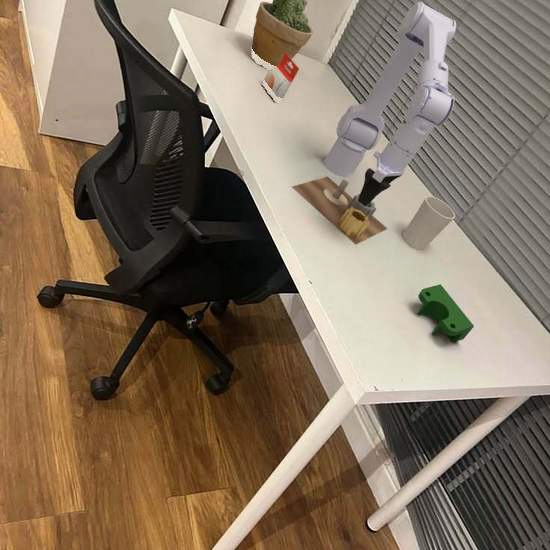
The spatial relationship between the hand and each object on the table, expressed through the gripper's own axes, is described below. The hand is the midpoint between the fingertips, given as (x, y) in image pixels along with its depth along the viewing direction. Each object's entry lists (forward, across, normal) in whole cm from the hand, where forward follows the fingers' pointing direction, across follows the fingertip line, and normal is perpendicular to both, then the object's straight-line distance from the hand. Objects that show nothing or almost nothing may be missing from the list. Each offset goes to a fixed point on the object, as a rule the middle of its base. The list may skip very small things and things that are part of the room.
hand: (367, 198), depth 118 cm
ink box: (+10, -41, -45) cm, 62 cm away
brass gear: (+9, 0, +1) cm, 9 cm away
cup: (+10, -15, +14) cm, 23 cm away
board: (+10, -6, -4) cm, 12 cm away
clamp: (+10, +9, +26) cm, 30 cm away
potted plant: (+10, -61, -58) cm, 85 cm away
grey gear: (+9, -8, -1) cm, 12 cm away
